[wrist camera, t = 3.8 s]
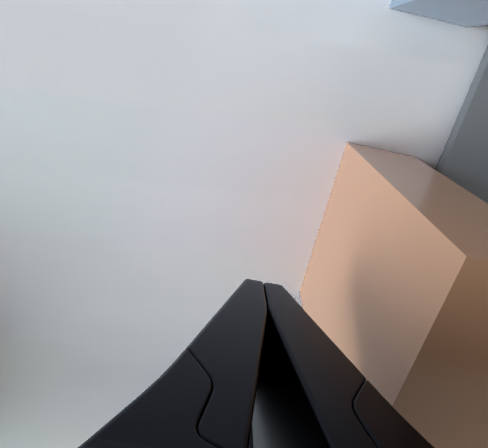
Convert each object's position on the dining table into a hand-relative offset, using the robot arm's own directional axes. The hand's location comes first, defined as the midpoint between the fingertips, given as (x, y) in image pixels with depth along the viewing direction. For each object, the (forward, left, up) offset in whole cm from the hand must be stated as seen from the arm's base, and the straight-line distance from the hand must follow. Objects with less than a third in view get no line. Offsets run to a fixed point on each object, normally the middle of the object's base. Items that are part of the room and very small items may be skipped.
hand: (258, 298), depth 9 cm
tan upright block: (0, -4, -6) cm, 7 cm away
